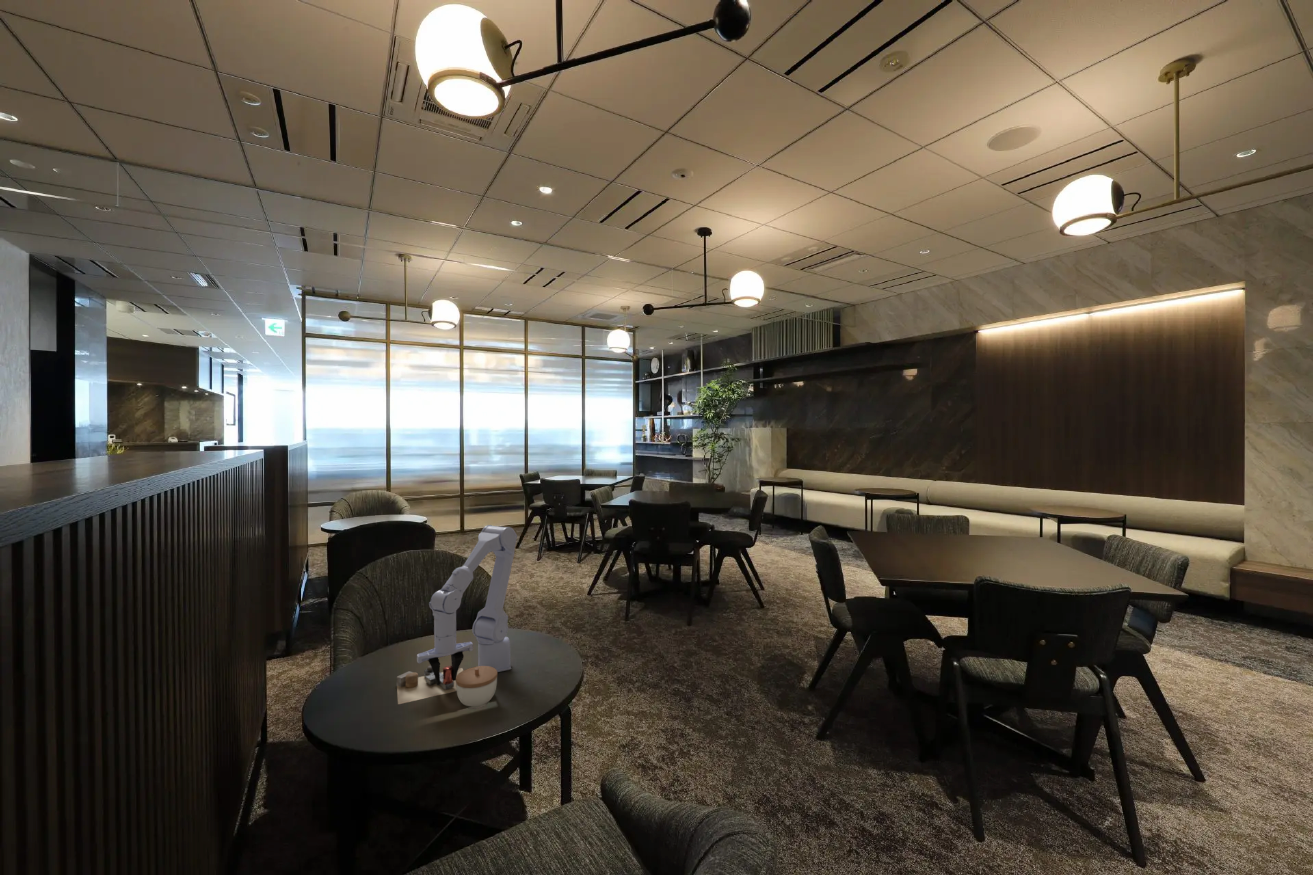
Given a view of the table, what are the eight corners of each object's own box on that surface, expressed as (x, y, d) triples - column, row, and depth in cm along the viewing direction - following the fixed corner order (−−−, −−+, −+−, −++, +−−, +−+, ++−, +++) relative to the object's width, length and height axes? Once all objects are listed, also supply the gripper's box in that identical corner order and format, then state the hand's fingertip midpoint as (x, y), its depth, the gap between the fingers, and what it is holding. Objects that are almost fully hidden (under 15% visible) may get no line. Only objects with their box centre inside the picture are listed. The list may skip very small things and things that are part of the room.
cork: (417, 681, 147) (417, 671, 147) (418, 686, 145) (418, 675, 145) (405, 684, 146) (405, 673, 146) (405, 689, 143) (405, 678, 143)
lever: (434, 670, 153) (433, 652, 153) (456, 686, 144) (456, 667, 144) (418, 676, 150) (418, 657, 150) (440, 692, 141) (440, 672, 140)
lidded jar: (473, 718, 131) (473, 681, 131) (447, 706, 136) (447, 671, 136) (506, 699, 140) (505, 665, 140) (480, 689, 145) (479, 656, 145)
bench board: (462, 671, 156) (462, 658, 156) (469, 692, 144) (469, 678, 144) (396, 685, 147) (396, 672, 147) (397, 708, 135) (397, 693, 135)
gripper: (468, 623, 150) (468, 668, 151) (414, 634, 142) (415, 682, 142) (474, 630, 145) (475, 678, 145) (419, 643, 136) (419, 693, 136)
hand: (445, 681), depth 143 cm, fingers open, 4 cm apart
